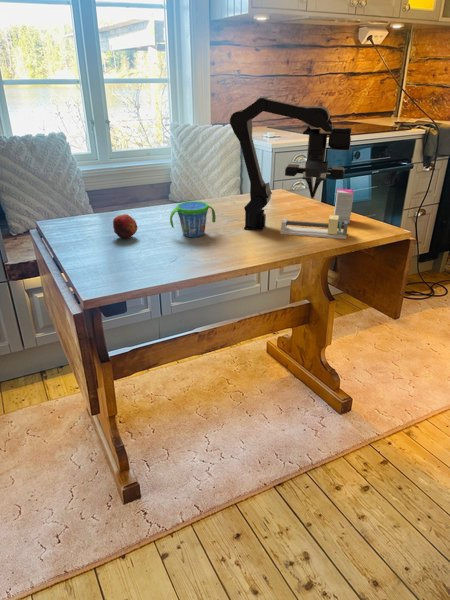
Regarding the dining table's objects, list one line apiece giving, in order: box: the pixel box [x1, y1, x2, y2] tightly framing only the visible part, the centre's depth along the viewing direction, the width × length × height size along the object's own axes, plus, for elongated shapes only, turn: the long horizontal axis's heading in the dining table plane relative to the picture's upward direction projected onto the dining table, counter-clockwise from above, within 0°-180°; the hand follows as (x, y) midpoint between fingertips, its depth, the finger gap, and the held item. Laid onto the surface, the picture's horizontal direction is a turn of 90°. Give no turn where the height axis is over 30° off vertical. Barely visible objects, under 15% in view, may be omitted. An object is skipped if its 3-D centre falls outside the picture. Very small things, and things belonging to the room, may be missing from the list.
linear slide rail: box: [280, 218, 349, 240], centre depth 158 cm, size 22×6×5 cm, turn 76°
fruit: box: [112, 213, 138, 240], centre depth 154 cm, size 8×8×8 cm
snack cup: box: [169, 200, 217, 238], centre depth 157 cm, size 16×10×10 cm
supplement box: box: [333, 188, 355, 225], centre depth 169 cm, size 6×6×12 cm
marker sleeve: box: [327, 214, 339, 235], centre depth 156 cm, size 3×5×5 cm, turn 166°
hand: (312, 197), depth 155 cm, fingers closed
